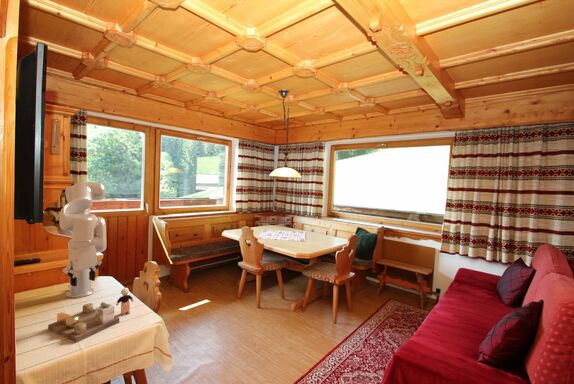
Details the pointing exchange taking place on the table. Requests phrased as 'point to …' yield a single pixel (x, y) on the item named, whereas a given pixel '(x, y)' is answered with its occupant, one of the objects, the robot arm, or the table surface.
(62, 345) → the table surface
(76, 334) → the base
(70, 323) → the orange lever bar
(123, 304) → the grandmother figurine
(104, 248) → the robot arm
